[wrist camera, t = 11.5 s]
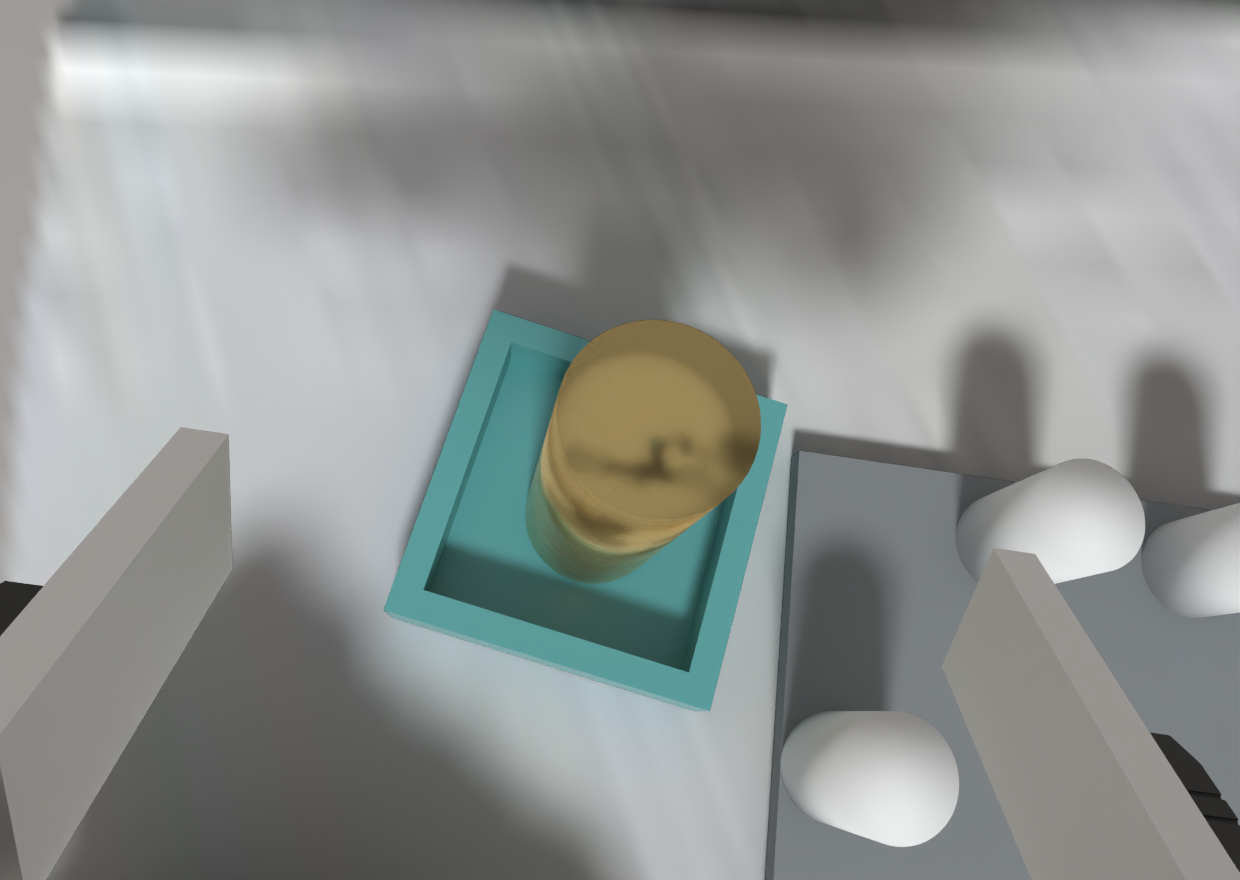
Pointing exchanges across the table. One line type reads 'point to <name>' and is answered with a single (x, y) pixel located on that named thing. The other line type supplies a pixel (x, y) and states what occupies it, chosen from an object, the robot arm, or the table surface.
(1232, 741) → the board
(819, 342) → the table surface
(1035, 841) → the robot arm
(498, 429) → the tray
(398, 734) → the table surface
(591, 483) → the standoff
